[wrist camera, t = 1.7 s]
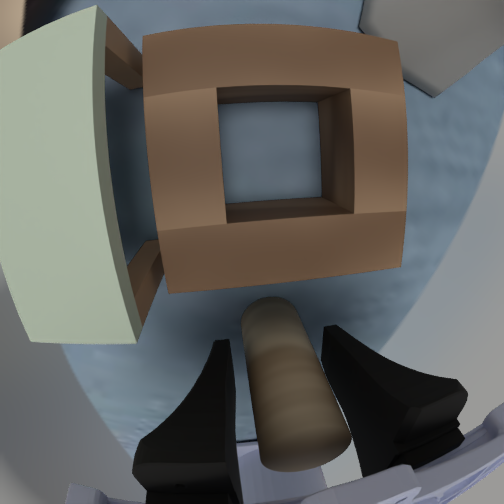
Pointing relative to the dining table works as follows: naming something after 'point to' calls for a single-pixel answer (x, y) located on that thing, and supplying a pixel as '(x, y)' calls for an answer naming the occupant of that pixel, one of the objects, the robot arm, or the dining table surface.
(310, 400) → the peg
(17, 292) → the bench
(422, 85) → the flask
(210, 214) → the socket
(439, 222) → the dining table surface
